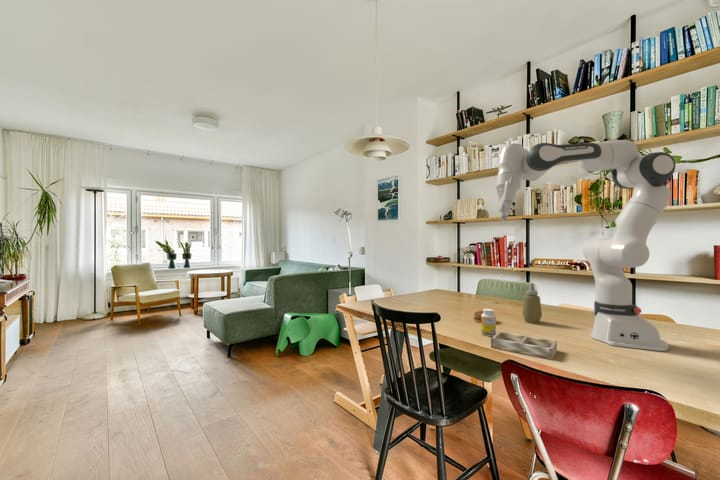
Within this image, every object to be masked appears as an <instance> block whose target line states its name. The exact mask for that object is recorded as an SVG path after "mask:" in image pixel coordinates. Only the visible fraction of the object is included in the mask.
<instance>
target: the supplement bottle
mask: <svg viewBox="0 0 720 480" xmlns="http://www.w3.org/2000/svg"><path fill="white" fill-rule="evenodd" d="M482 311H483V314H482V315H481V323H480V324H481V334H482V335H483V336H486V337H493V336H494V335H496V334H497V315H496V314H495V311H494V309H492V308H483V310H482Z"/></svg>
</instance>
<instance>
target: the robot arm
mask: <svg viewBox="0 0 720 480" xmlns="http://www.w3.org/2000/svg"><path fill="white" fill-rule="evenodd" d="M572 162H578V166H579V167H580V168H581V169H582V170H583V171H586V172H603V171H608V170H610V173H611V177H612V181H613V184H614V185H615V186H617V187H618V188H619V189H624V190H626V189H627V190H630V189H633V192H632V195H631V197H630V198H629V200H628V201H627V203H626V204H625V205H624V207H623V208H622V210H621V211H620V212H619V214H618V215H617V217H616V218H615V219H614V220H615V221H614V224H615V226H616V230H615V232H614V235H612V237H600V238H599V237H598V238H595V239H593V240H590V241H588V242H586V243H585V244H584V246H583V249H582V254H583V257H584V258H585V260H587V262H588V263H589V265H590V268H591V271H592V273H593V274H592V275H593V277H594V278H593V279H594V283H595V284H594V288H595V300H594V301H593V302H594V303H593V313H594V321H593V326H592V331H591V333H590V337H591V338H593V339H594V340H597V341H600V342H603V343H605V344H608V345H610V346H614V347H623V348H629V349H630V348H631V349H639V350H646V351H647V350H648V351H657V352H667V351H669V349H670V347H669V346H670V345H669V343H668V342H666V341H665V340H663V339H661V334H660V331H659V330H658V328H657V327H656V326H655V325H654V324H653V323H651V322H650V321H648V320H647V319H645V318H644V317H642V316H641V315H640V314H641V313H642V309H641V308H640V307H639V306H638V305H635V304H633V284H632V282H631V280H629V278H627V276H626V274H625V272H624V269H632V268H640V267H642V266H643V265H645V264H647V262H648V260H649V258H650V249H649V247H648V245H647V239H648V236H649V234H650V232H651V231H652V229H653V227H655V224H656V223H657V221H658V220H659V218H661V216H662V214H663V213H664V211H665V209H666V208H667V205H668V203H669V201H670V198H671V196H672V193H671V190H670V188H669V187H667V186H666V185H668V184H669V183H670V182H671V181H672V179H673V178H672V177H673V175H674V173H675V170H676V160H675V158H674V157H673V156H672V154H670V153H668V152H662V151H658V152H657V151H656V152H651V153H648V154H645V155H642V156H641V155H640V154H639V149H638V146H637V143H635V141H632V140H626V139H615V140H606V141H605V140H604V141H598V142H581V143H580V142H579V143H567V144H555V143H550V142H539V143H537V144H535V145H533V146H532V147H531V149H530V150H529V151H528V150H527V149H526V148H525V147H523V145H522V144H521V143H510V144H508V145H505V146H504V147H503V148H502V149H501V150H500V154H499V158H498V165H497V166H498V167H497V168H498V173H497V176H496V185H495V188H496V190H497V191H496V194H497V195H498V197H497V198H498V199H497V200H498V202H497V203H498V205H497V206H498V212H499V213H500V215H501V217H500V218H501V219H500V220H501V221H502V222H506V221H507V219H508V218H507V217H508V216H507V215H510V214H511V208H512V205H513V203H514V201H515V199H516V196H517V191H518V190H520V189H521V187H522V186H521V184H522V183H521V182H522V180H525V181H537V180H538V179H540V178H542V176H544V175H545V174H546V173H547V172H548V171H549V170H550V169H552V168H553V167H554V166H556V165H559V164H562V163H572Z"/></svg>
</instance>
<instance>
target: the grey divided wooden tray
mask: <svg viewBox="0 0 720 480" xmlns="http://www.w3.org/2000/svg"><path fill="white" fill-rule="evenodd" d="M557 343H558V342H557V340H552V339H546V338H540V337H535V336H528V335H522V334H516V333H511V332H503V331H498V332H496V335H494V336H491V338H490V348H492V349H498V350H503V351H507V352H512V353H517V354H521V355H527V356H532V357H537V358H542V359H547V360H553V358H554V357H555V354H556V353H557V350H558V349H557V348H558V344H557Z"/></svg>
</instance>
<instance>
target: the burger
mask: <svg viewBox="0 0 720 480" xmlns="http://www.w3.org/2000/svg"><path fill="white" fill-rule="evenodd" d="M482 314H483V310H479V311H475V312H474V315H473V319H474V322H475V323H478V324H481V315H482Z"/></svg>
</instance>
